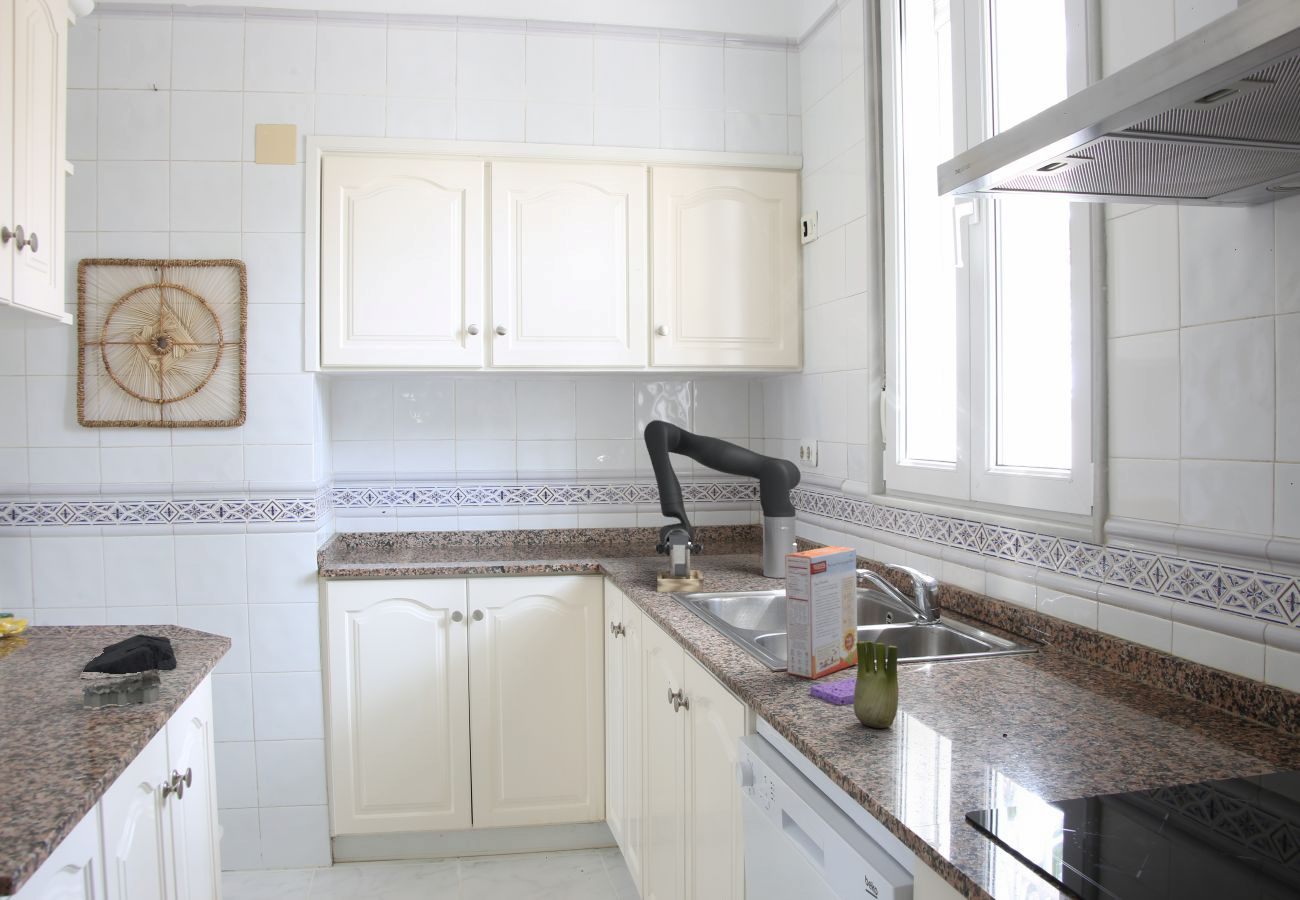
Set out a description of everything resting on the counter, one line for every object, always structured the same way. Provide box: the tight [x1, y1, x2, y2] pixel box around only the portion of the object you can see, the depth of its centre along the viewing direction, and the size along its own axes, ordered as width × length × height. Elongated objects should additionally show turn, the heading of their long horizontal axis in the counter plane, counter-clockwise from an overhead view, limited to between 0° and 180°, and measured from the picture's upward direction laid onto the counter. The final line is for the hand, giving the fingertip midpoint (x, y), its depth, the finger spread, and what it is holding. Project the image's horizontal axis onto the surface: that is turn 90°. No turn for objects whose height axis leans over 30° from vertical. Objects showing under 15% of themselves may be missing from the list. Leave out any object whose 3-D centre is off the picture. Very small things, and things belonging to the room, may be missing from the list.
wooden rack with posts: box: [656, 549, 705, 593], centre depth 241 cm, size 12×16×10 cm
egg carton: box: [81, 669, 162, 708], centre depth 141 cm, size 11×8×4 cm
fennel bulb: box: [853, 640, 899, 729], centre depth 127 cm, size 6×5×12 cm
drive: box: [668, 532, 689, 577], centre depth 241 cm, size 5×7×11 cm
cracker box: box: [784, 545, 858, 680], centre depth 156 cm, size 14×6×21 cm, turn 135°
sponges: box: [809, 677, 900, 706], centre depth 142 cm, size 7×13×2 cm, turn 121°
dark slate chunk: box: [82, 634, 178, 674], centre depth 165 cm, size 15×22×5 cm
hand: (679, 551), depth 238 cm, fingers closed on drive, 5 cm apart
